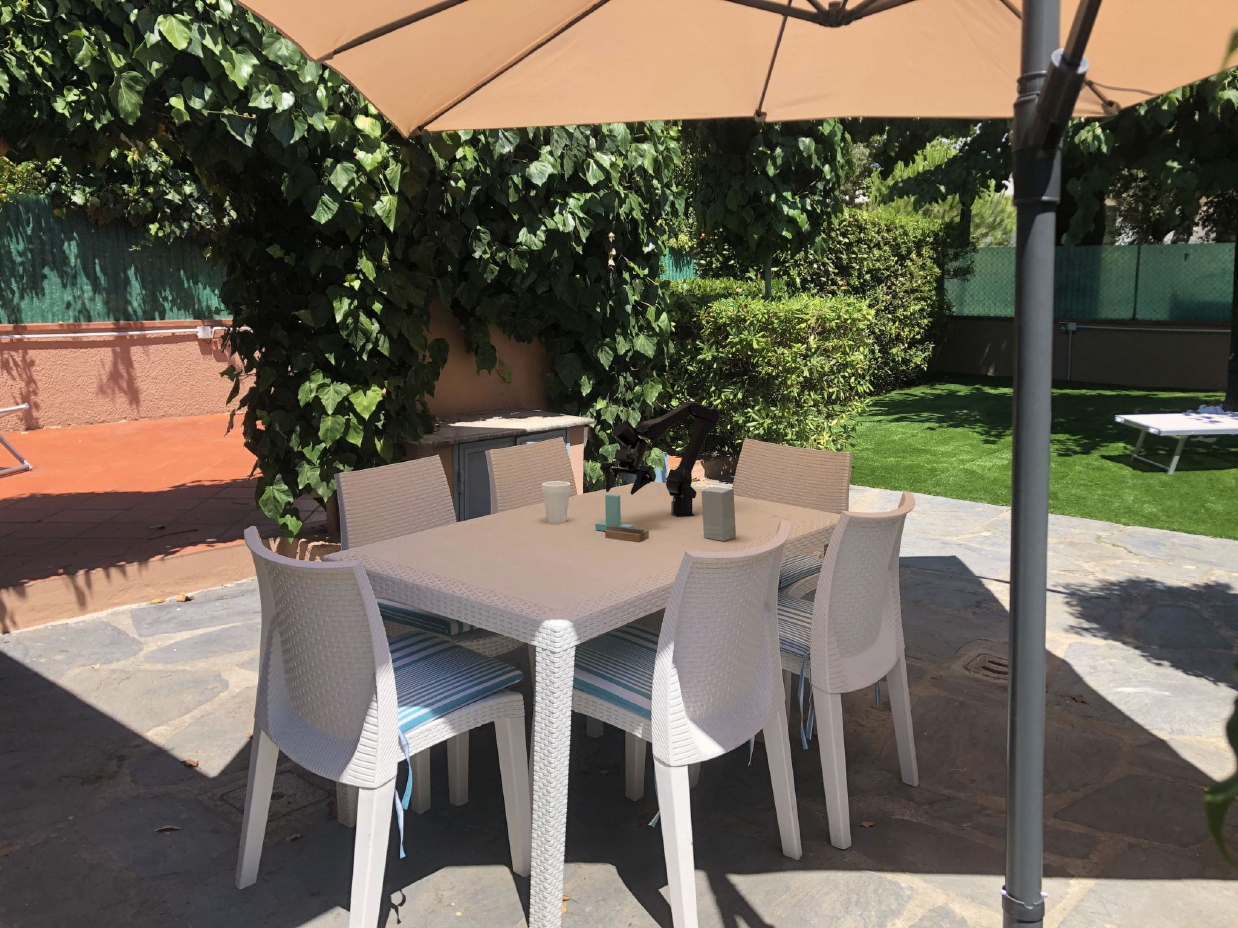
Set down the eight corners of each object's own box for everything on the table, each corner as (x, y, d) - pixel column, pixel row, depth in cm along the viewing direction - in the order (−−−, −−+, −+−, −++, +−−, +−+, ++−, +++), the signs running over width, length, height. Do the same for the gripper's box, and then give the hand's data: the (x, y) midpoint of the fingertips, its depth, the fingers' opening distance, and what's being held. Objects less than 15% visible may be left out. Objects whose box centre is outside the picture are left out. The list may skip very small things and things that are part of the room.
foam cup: (575, 519, 335) (575, 482, 333) (562, 525, 327) (562, 487, 325) (551, 517, 339) (550, 480, 337) (537, 523, 331) (537, 485, 329)
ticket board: (615, 533, 315) (615, 522, 315) (649, 537, 309) (649, 526, 308) (604, 537, 310) (604, 526, 309) (639, 542, 303) (639, 531, 303)
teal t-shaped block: (602, 527, 323) (601, 492, 321) (634, 531, 317) (633, 495, 315) (595, 529, 319) (594, 494, 317) (627, 533, 313) (627, 497, 311)
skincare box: (736, 538, 307) (736, 488, 305) (722, 542, 302) (722, 491, 300) (714, 534, 313) (715, 485, 310) (700, 538, 308) (700, 488, 305)
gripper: (602, 437, 325) (584, 476, 317) (651, 441, 316) (635, 480, 308) (614, 457, 333) (598, 495, 325) (663, 461, 324) (647, 500, 316)
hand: (618, 492), depth 319 cm, fingers open, 9 cm apart
